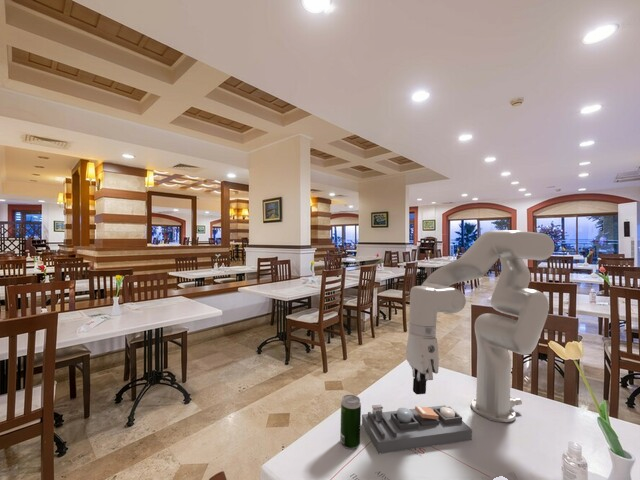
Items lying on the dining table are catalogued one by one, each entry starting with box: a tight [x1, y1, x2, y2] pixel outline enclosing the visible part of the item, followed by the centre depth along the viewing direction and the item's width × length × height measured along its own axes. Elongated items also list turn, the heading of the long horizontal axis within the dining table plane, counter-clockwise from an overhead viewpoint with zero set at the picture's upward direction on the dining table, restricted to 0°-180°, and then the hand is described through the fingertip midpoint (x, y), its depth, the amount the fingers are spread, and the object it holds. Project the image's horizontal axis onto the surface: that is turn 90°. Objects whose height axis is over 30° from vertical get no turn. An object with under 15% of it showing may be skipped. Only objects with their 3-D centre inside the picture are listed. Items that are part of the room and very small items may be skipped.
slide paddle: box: [371, 404, 384, 421], centre depth 85 cm, size 3×2×4 cm
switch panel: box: [361, 405, 473, 455], centre depth 84 cm, size 28×12×4 cm, turn 102°
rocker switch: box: [414, 405, 439, 419], centre depth 85 cm, size 5×4×1 cm
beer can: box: [339, 394, 362, 451], centre depth 79 cm, size 5×5×12 cm
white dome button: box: [440, 406, 456, 418], centre depth 86 cm, size 4×4×2 cm
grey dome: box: [396, 407, 412, 423], centre depth 83 cm, size 4×4×2 cm
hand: (419, 392), depth 84 cm, fingers closed
